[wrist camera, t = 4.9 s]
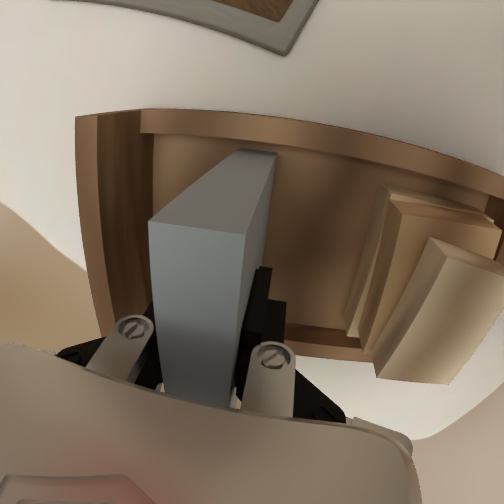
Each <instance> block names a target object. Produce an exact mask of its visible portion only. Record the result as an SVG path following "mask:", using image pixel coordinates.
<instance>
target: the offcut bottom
mask: <svg viewBox="0 0 504 504" xmlns="http://www.w3.org/2000/svg"><path fill="white" fill-rule="evenodd" d="M389 199H391V200H398V201H405V202H411V203H418V204H424V205H430V206H436V207H442V208H448V209H453V210H459V211H464V212H469V213H475V214H480V215H483V216H484V217H485V218H487V219H488V220H489V221H491V222H492V223H494V220H493V219H491V218H490V217H489V216H487V215H486V214H485V213H483V212H482V211H480V210H479V209H478V208H476V207H473V206H469V205H466V204H463V203H459V202H456V201H452V200H449V199H445V198H441V197H438V196H434V195H430V194H426V193H422V192H418V191H414V190H410V189H406V188H402V187H398V186H393V185H389V184H385V183H380V184H379V189H378V193H377V198H376V202H375V206H374V210H373V214H372V218H371V222H370V226H369V230H368V234H367V237H366V241H365V245H364V248H363V252H362V255H361V259H360V262H359V266H358V269H357V272H356V276H355V279H354V282H353V285H352V289H351V292H350V295H349V298H348V301H347V304H346V307H345V310H344V313H343V317H344V323H345V328H346V334H347V336H349V337H359V333H358V326H359V322H360V319H361V315H362V312H363V309H364V305H365V301H366V298H367V294H368V290H369V287H370V283H371V279H372V275H373V271H374V267H375V263H376V258H377V254H378V250H379V245H380V241H381V236H382V231H383V226H384V221H385V216H386V211H387V205H388V200H389ZM359 338H360V337H359Z"/></svg>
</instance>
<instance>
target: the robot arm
mask: <svg viewBox="0 0 504 504" xmlns="http://www.w3.org/2000/svg"><path fill="white" fill-rule="evenodd" d="M272 270H273V268H271V267H265V266H260V267H259V269H256V270H255V274H254V278H253V283H252V287H251V291H250V295H249V299H248V303H247V307H246V311H245V315H244V319H243V323H242V328H241V334H240V342H239V351H238V360H237V369H236V378H235V388H236V396H237V397H238V398H239V400H240V401H241V402H242V403H241V408H240V409H235V408H230V407H224V406H219V405H215V404H210V403H205V402H201V401H196V400H192V399H188V398H183V397H179V396H175V395H171V394H168V393H164V392H160V390H161V387H162V383H163V378H162V371H161V364H160V357H159V350H158V342H157V334H156V325H155V316H154V306H153V300H152V302H151V303H150V305H149V306H148V308H147V309H146V311H145V312H144V314H143V315H142V316H141V315H129V316H126V317H123V318H121V319H120V320H119V321H118V322H117V323H116V324H115V325H114V327H113V328H112V329H111V331H110V332H109V334H108V335H107V336H106V337H102V338H99V339H96V340H92V341H89V342H85V343H82V344H78V345H75V346H71V347H68V348H65V349H63V350H62V351H60V352H59V353H58V354H56V352H55V351H46V350H38V349H35V348H32V347H29V346H25V345H21V344H15V343H4V342H2V343H0V504H422V498H421V491H420V486H419V480H418V476H417V472H416V468H415V466H414V463H413V460H412V458H411V456H412V450H413V446H412V443H411V441H410V439H409V438H408V437H407V436H406V435H404V434H402V433H399V432H396V431H393V430H390V429H387V428H384V427H382V426H379V425H376V424H373V423H370V422H368V421H365V420H362V419H360V418H357V417H354V418H353V419H351V418H348V417H346V416H345V414H344V412H343V411H342V409H341V408H340V407H339V406H338V405H336V404H335V403H334V402H333V401H332V400H330V399H329V398H328V397H327V396H326V395H325V394H323V393H322V392H321V391H320V390H319V389H318V388H317V387H315V386H314V385H313V384H312V383H311V382H310V381H309V380H307V379H306V378H305V377H304V376H303V375H302V374H301V373H299V372H298V371H297V370H296V369H295V363H296V359H295V354H294V353H293V351H292V350H291V349H290V348H289V347H288V346H286V345H284V333H285V320H286V306H287V302H285V301H279V300H272V299H268V296H269V289H270V283H271V276H272Z"/></svg>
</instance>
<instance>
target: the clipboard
mask: <svg viewBox="0 0 504 504" xmlns="http://www.w3.org/2000/svg"><path fill="white" fill-rule="evenodd" d="M72 1H84V2H93V3H101V4H108V5H115V6H121V7H127V8H132V9H138V10H143V11H147V12H152V13H157V14H161V15H165V16H169V17H173V18H177V19H181V20H184V21H188V22H191V23H195V24H198V25H201V26H205V27H208V28H211V29H214V30H217V31H220V32H223V33H226V34H229V35H231V36H234V37H237V38H240V39H242V40H245V41H248V42H250V43H253V44H255V45H258V46H260V47H263V48H265V49H267V50H270V51H272V52H275V53H277V54H280V55H282V56H285V55H287V53H288V52H289V50H290V49H291V47H292V45H293V43H294V42H295V40H296V38H297V36H298V35H299V33H300V31H301V29H302V27H303V26H304V24H305V22H306V20H307V19H308V17H309V15H310V14H311V12H312V10H313V8H314V7H315V5H316V3H317V2H318V0H72Z"/></svg>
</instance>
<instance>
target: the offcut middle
mask: <svg viewBox="0 0 504 504" xmlns="http://www.w3.org/2000/svg"><path fill="white" fill-rule="evenodd" d="M501 233H502V230H501V229H500V228H498V227H497V226H496V225H495V224H493V223H492V222H491V221H489V220H488V219H487V218H485V217H484V216H483V215H480V214H475V213H469V212H464V211H459V210H453V209H448V208H442V207H436V206H430V205H424V204H418V203H411V202H405V201H398V200H391V199H389V200H388V205H387V211H386V216H385V221H384V226H383V231H382V236H381V241H380V245H379V250H378V254H377V258H376V263H375V267H374V271H373V275H372V279H371V283H370V287H369V290H368V294H367V298H366V301H365V305H364V309H363V312H362V315H361V319H360V322H359V326H358V333H359V337H360V342H361V347H362V352H363V354H371V349H372V348H373V346H374V344H375V343H376V341H377V339H378V338H379V336H380V334H381V332H382V331H383V329H384V327H385V326H386V324H387V322H388V320H389V318H390V317H391V315H392V313H393V311H394V309H395V307H396V306H397V304H398V302H399V300H400V298H401V296H402V294H403V292H404V290H405V288H406V286H407V284H408V282H409V280H410V278H411V276H412V274H413V272H414V270H415V268H416V266H417V264H418V261H419V259H420V257H421V255H422V253H423V250H424V248H425V246H426V244H427V241H428V239H429V237H432V238H435V239H438V240H441V241H443V242H446V243H449V244H452V245H455V246H457V247H460V248H463V249H466V250H468V251H471V252H474V253H476V254H479V255H482V256H484V257H487V258H489V259H492V260H493V258H494V256H495V253H496V249H497V246H498V243H499V240H500V237H501Z"/></svg>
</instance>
